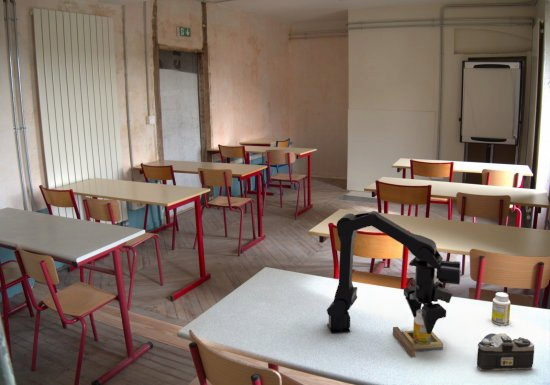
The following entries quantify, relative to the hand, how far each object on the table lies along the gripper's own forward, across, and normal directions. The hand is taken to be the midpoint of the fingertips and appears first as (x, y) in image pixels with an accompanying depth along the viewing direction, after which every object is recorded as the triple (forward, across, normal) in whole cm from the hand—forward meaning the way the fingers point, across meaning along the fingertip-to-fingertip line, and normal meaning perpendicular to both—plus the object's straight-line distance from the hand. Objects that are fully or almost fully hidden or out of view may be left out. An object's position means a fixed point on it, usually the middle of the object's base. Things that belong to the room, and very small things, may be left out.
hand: (422, 326), depth 155 cm
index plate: (+6, 0, 0) cm, 6 cm away
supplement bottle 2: (+6, +10, -32) cm, 35 cm away
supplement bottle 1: (+5, 0, 0) cm, 5 cm away
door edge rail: (+6, 0, +6) cm, 8 cm away
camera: (+6, -14, -18) cm, 23 cm away
